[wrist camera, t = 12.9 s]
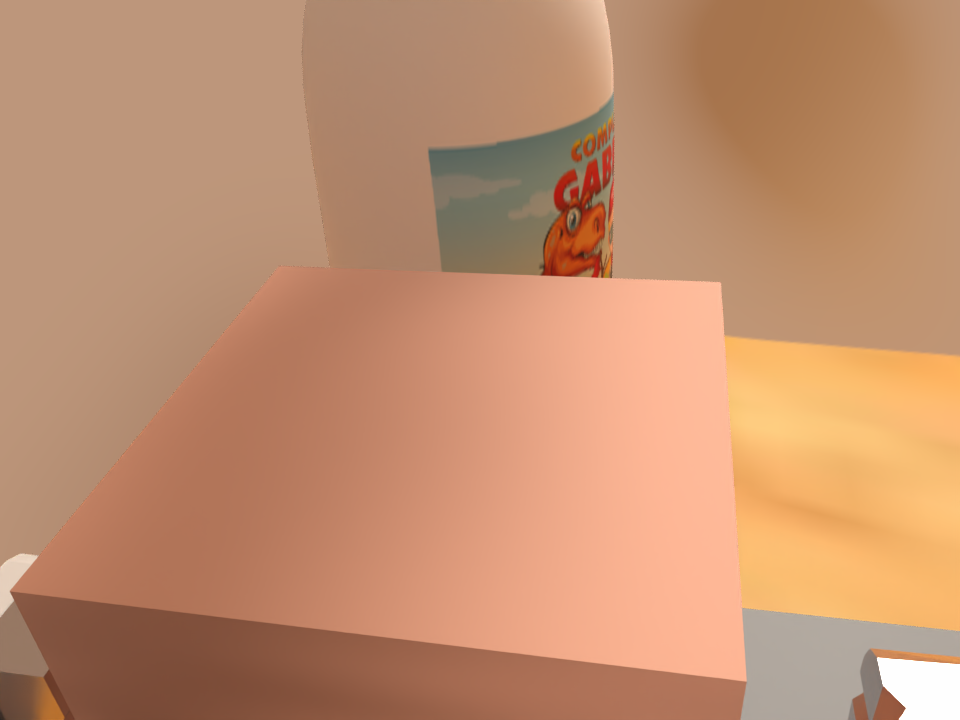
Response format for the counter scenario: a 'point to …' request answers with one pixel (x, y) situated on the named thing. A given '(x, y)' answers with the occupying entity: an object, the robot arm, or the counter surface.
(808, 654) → the peg plate
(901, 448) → the counter surface
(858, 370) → the counter surface
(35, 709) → the robot arm
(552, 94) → the milk bottle
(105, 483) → the terracotta post
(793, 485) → the counter surface
